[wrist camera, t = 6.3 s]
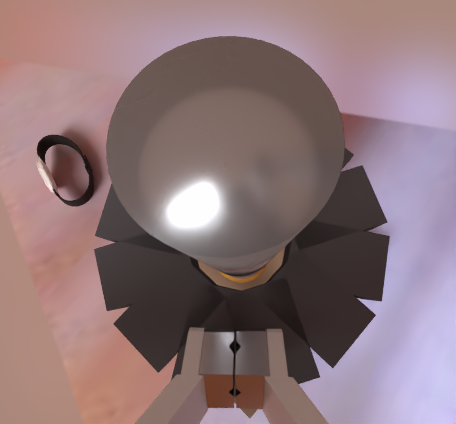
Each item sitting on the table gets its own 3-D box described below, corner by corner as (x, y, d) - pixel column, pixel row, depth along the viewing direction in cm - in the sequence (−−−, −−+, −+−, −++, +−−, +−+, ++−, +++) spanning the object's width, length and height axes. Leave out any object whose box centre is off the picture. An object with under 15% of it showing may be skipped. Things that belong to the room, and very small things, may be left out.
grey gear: (232, 87, 16) (230, 60, 14) (418, 234, 14) (447, 226, 12) (68, 250, 14) (41, 245, 12) (248, 442, 12) (248, 471, 10)
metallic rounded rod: (241, 235, 28) (217, -18, 5) (270, 261, 27) (419, 125, 4) (214, 264, 27) (37, 148, 4) (243, 291, 27) (229, 341, 3)
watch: (39, 155, 33) (14, 140, 30) (79, 134, 34) (59, 116, 30) (66, 217, 31) (43, 209, 28) (108, 195, 32) (91, 183, 28)
